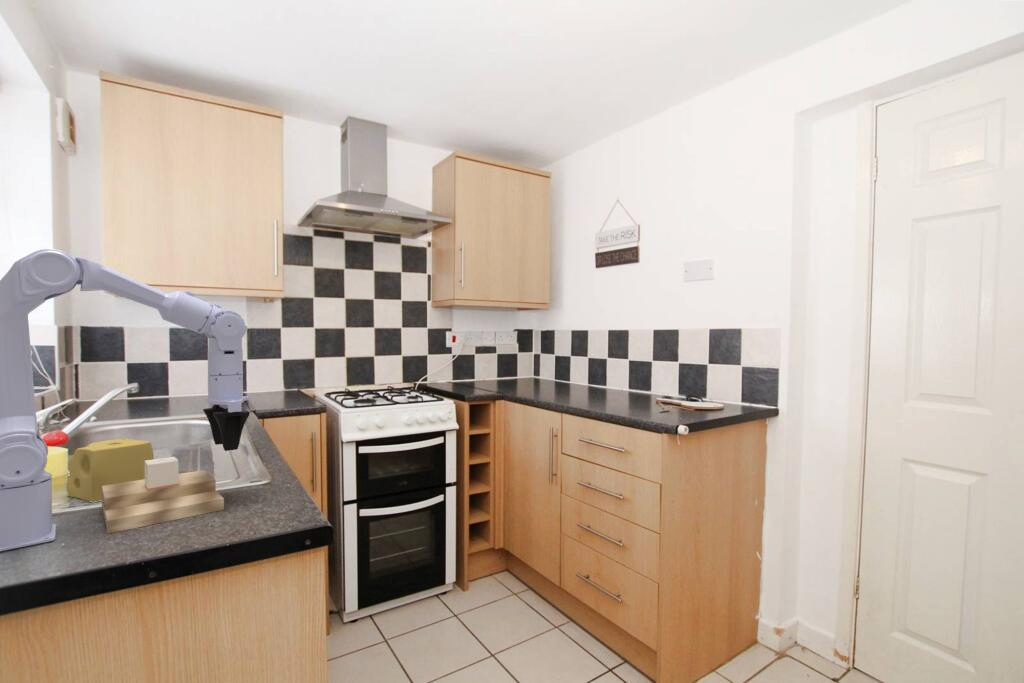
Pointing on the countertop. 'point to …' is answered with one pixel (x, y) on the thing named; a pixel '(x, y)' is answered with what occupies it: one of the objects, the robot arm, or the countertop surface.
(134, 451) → the cheese
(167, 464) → the white cube
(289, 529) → the countertop surface
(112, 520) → the step
